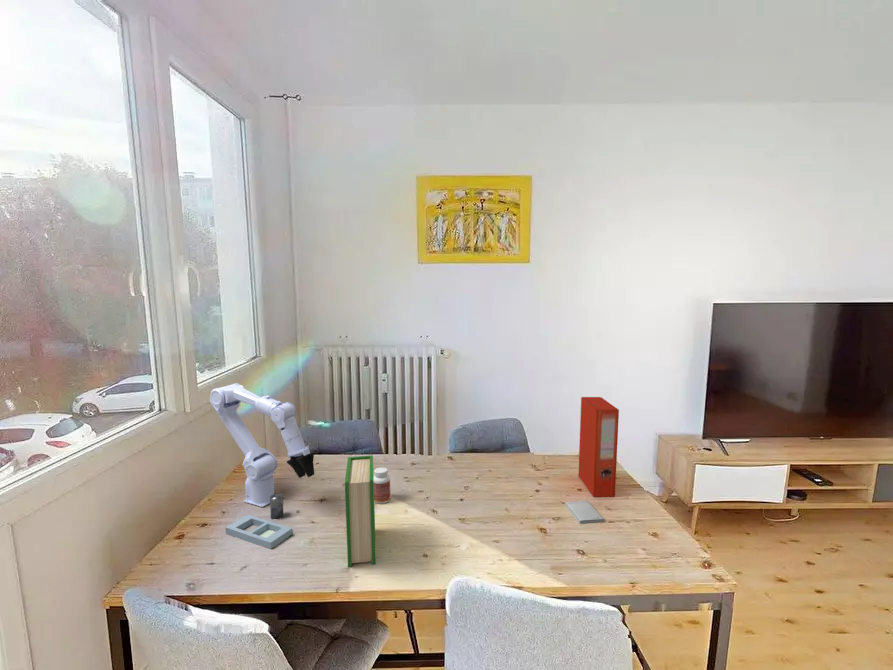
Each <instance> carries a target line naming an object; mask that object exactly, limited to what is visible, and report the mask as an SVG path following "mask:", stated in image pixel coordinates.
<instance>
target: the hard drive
mask: <svg viewBox="0 0 893 670" xmlns="http://www.w3.org/2000/svg"><path fill="white" fill-rule="evenodd" d="M564 505H565V507H566V508H567V510H568V511H569V512H570V513H571V515H572V516H573V517H574V519H576V521H577V522H578V524H579V525H580V524H581V525H582V524H583V525H584V524H595V523H596V524H597V523H605V519H604V517H602V515H601V514H600V513H599V512H598V511H597V509H595V508H594V506H593V505H592V504H591V503H590V502H589V501H588V500H578V501H577V500H576V501H574V500H573V501H565V502H564Z"/></svg>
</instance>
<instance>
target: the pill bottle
mask: <svg viewBox="0 0 893 670" xmlns="http://www.w3.org/2000/svg"><path fill="white" fill-rule="evenodd" d="M388 472H389V471H388V469H387V468H386V467H377V468H375V469H373V477H374V504H380V505H382V504H386V503H388V502H390V500H391V477H390V475H389V473H388Z"/></svg>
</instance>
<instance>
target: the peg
mask: <svg viewBox="0 0 893 670" xmlns="http://www.w3.org/2000/svg"><path fill="white" fill-rule="evenodd" d="M269 508H270V510H269V511H270V519H271V520H273V519H277V520H280V518H281V519H282V518H283V517H284V516H285V513H284V495H283V494H282V493H274V494H273V495H271V496H270V503H269Z"/></svg>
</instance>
